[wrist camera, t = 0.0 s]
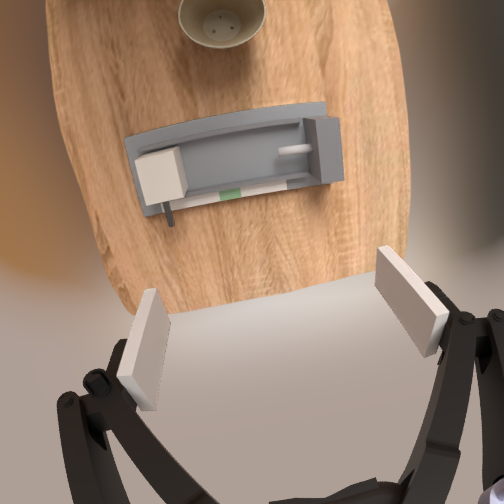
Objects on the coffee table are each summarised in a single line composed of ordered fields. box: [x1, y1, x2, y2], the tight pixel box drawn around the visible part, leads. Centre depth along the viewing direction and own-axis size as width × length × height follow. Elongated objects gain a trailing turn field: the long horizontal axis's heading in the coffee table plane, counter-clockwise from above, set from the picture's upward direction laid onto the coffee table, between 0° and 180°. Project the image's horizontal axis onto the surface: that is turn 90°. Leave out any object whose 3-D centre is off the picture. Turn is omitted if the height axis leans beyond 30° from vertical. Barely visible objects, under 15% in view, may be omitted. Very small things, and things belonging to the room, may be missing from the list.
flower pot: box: [178, 0, 266, 49], centre depth 29 cm, size 10×10×7 cm
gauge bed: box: [124, 102, 344, 217], centre depth 37 cm, size 12×28×7 cm, turn 99°
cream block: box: [135, 146, 188, 227], centre depth 38 cm, size 10×5×5 cm, turn 9°
